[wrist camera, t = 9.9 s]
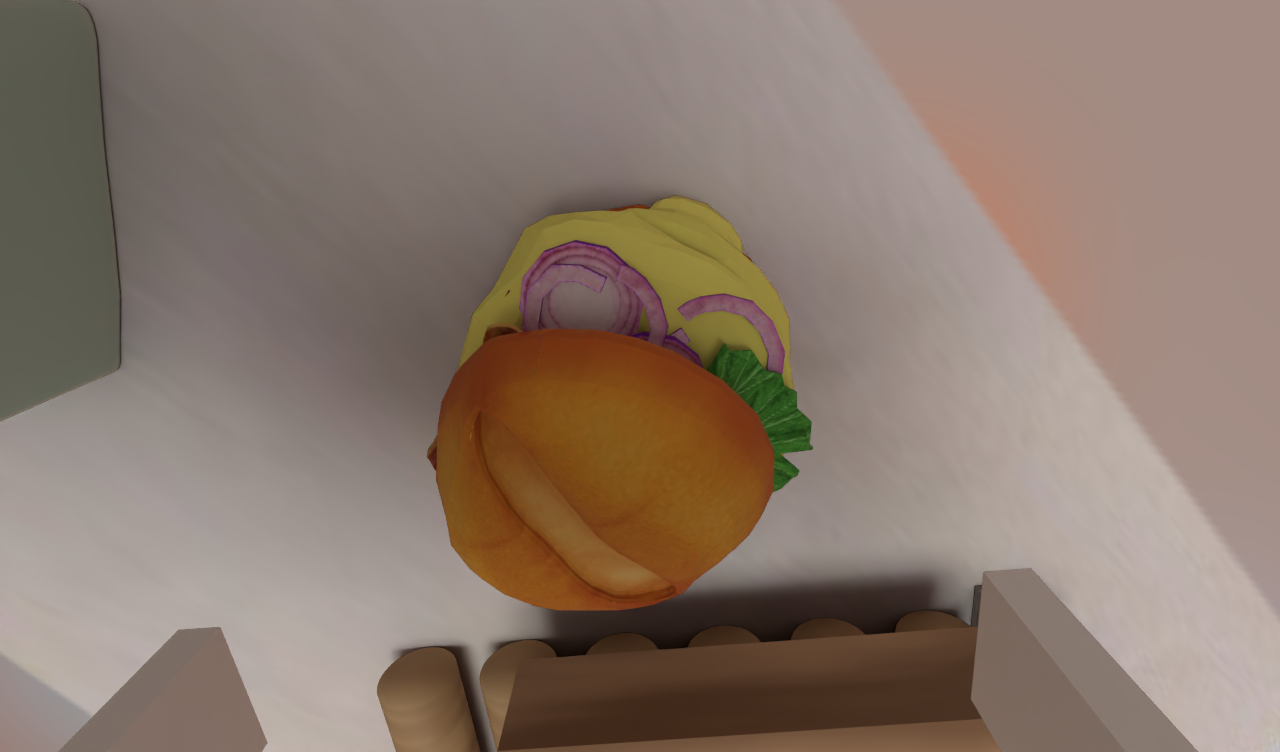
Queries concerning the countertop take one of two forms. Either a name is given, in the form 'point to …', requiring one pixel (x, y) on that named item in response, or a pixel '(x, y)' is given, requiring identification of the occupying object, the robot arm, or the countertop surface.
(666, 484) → the cheeseburger
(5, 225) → the planter
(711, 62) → the countertop surface
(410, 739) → the cylinder
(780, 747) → the board
